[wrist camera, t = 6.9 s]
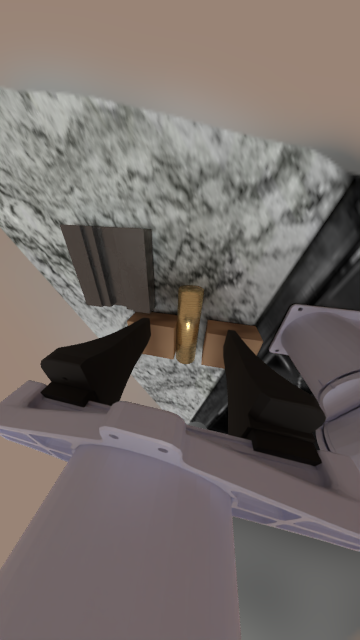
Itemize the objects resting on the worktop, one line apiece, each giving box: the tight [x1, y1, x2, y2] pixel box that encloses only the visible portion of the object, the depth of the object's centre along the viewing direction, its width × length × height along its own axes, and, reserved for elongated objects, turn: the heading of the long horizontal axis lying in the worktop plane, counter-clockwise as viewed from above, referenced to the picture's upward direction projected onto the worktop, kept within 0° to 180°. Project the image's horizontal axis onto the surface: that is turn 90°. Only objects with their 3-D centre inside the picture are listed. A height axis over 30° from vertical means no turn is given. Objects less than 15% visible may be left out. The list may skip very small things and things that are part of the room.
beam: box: [127, 312, 263, 369], centre depth 21 cm, size 18×6×3 cm, turn 87°
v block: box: [60, 225, 155, 313], centre depth 18 cm, size 10×10×2 cm
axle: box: [176, 285, 204, 364], centre depth 21 cm, size 12×3×3 cm, turn 178°
